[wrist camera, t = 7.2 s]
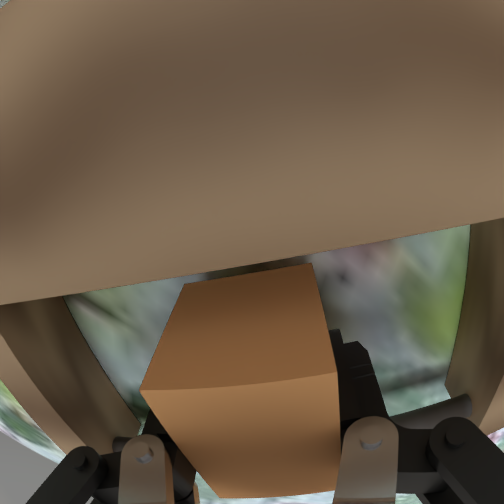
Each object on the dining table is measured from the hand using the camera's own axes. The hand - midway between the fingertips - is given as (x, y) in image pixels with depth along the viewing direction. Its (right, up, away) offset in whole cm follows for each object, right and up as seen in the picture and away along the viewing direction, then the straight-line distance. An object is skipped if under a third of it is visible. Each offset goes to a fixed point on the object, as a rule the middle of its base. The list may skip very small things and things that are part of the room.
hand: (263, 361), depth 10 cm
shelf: (-1, +4, +1) cm, 4 cm away
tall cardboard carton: (0, 0, +1) cm, 1 cm away
